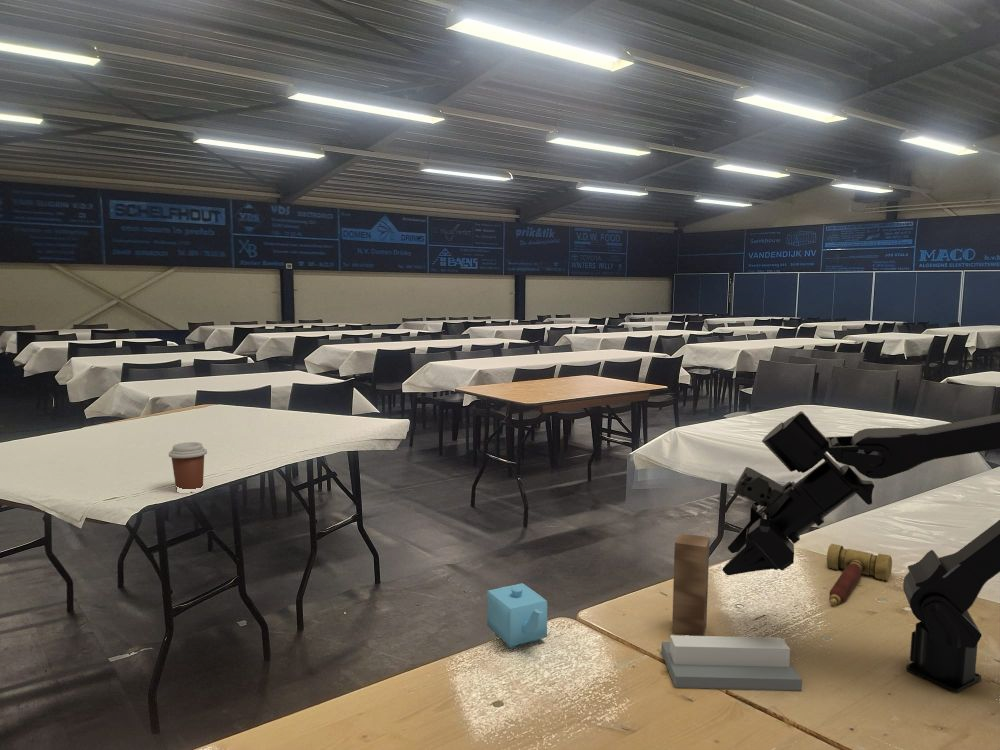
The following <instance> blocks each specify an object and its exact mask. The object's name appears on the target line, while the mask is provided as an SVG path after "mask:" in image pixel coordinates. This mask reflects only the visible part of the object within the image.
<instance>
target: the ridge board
mask: <svg viewBox="0 0 1000 750" xmlns="http://www.w3.org/2000/svg"><path fill="white" fill-rule="evenodd" d="M669 636H670V637H669V641H661V651H660V652H661V654H662V658H663V660H664V663H665V665H666V667H667V671H668V673H669V675H670V677H671V681H672V684H673V685H674V688H675V689H676V688H677V689H678V688H681V689H715V690H716V689H720V690H723V689H724V690H754V691H755V690H756V691H758V690H759V691H760V690H761V691H762V690H765V691H798V690H799V692H800V691H802V688H803V687H802V685H803V679H802V677H801V676H800V675H799V673H798V672H797V670H796V669H795V668H794V667H793V665H792V663H791V662H790V660H791V659H790V657H791V648H790V647H789V646H788V644H787V643H786V641H785V640H784V639H783V637H771V636H770V637H768V636H767V637H766V636H765V637H763V636H721V635H720V636H719V635H718V636H716V635H712V636H710V635H704V636H684V635H677V634H672V635H669Z"/></svg>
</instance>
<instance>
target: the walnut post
mask: <svg viewBox="0 0 1000 750" xmlns="http://www.w3.org/2000/svg"><path fill="white" fill-rule="evenodd" d="M710 539H711V537H710V536H704V535H694V534H689V533H688V534H687V533H681V532H679V533H678V535H677V537H676V539H675V542H674V556H673V557H674V559H673V584H672V585H673V587H672V588H673V589H672V590H673V591H672V593H673V594H672V624H671V625H672V626H671V633H672V634H673V633H674V634H673V635H678V634H681V635H680V636H684V635H689V636H705V634H706V633H705V632H706V630H707V621H708V620H707V619H708V598H709V597H708V596H709V595H708V593H709V569H710V568H709V565H710ZM705 629H706V630H705ZM704 633H705V634H704ZM682 634H683V635H682Z"/></svg>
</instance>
